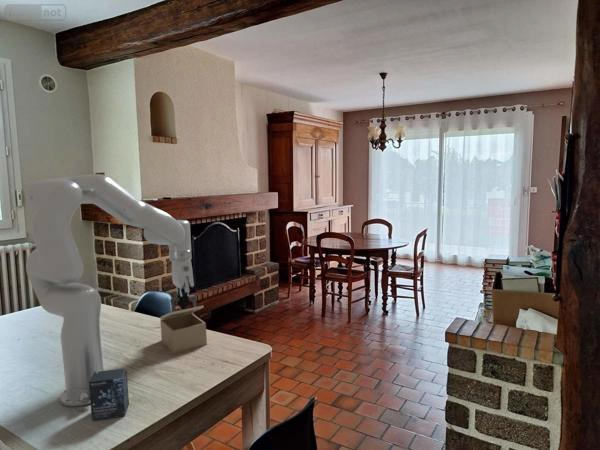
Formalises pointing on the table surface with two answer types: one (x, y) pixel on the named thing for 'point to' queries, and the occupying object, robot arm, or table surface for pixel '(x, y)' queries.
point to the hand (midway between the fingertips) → (183, 305)
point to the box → (109, 394)
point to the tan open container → (183, 332)
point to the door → (181, 312)
